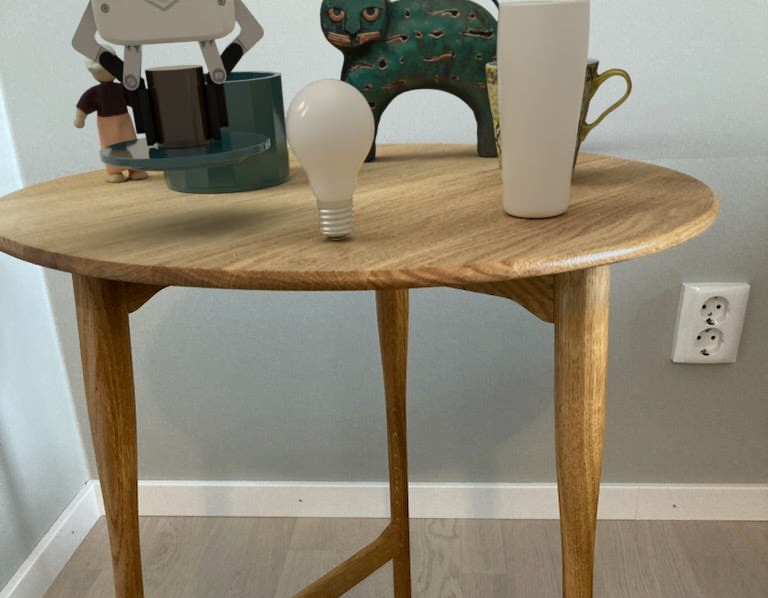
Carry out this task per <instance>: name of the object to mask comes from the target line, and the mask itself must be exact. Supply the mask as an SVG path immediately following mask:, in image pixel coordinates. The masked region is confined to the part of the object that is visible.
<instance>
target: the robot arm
mask: <svg viewBox="0 0 768 598" xmlns="http://www.w3.org/2000/svg"><path fill="white" fill-rule="evenodd" d="M236 23H237V24H238V26H239V29H240V31H239V33H238V35H237V36H235V38H234V39H233V40H231V41H230V42H229V43H228V44H227V45H226V47H225V48H224V49H223V51H222V53H220V51H219V49H218V48H219V47H218V46H217V43H216V40H219V39H223V38H226V37H227V36H228V35H230V34H231V33H232V32H233V31H234V29H235V27H236ZM97 33H98V35H99V36H100V38H101V39H102V40H104V41H105V42H107V43H109V44H112V45H115V46H123V47H124V48H123V59H121V58H120V57H119V56H118V54H117V55H115V54H114V53H113V52H112V51H109V50H108V49H106V48H105V47H103V46H102V45H100V44H99V43H100V42H98V41H97V39H96V38H97V37H96V34H97ZM264 35H265V30H264V28H263V27H262V25H261V24H260V22H258V20H257V19H256V17H255V16H254V15H253V14H252V12H251V11H250V9H249V8H248V7H247V6H246V4H244V2H243V1H242V0H89V1H88V3H87V6H86V8H85V10H84V12H83V13H82V17H81V19H80V21H79V23H78V25H77V28H76V30H75V33H74V34H73V37H72V39H71V46H72V48H73V50H74V51H76V52H78V53H79V54H81V55H83V56H84V57H85V58H86V57H87V58H89V59H91V60H92V61H94V62H96V63H97V64H99V65H101V66H102V67H103V68H104V69H105V70H106V71H108V72H109V73H110V74H111V75H112V76H114V77H115V80H117V82H118V83H122V84H123V85H124V86H125V87H126V88H127V89H128V90H129V93H130V99H131V105H132V108H131V109H132V110H131V111H132V116H133V122H134V129H135V132H136V135H143V134H144V135H145V138H146V141H147V146H154V144H156V143H157V141H156V135H155V129H154V123H153V117H152V111H151V105H150V98H149V92H148V87H147V85H146V79H144V78H143V77H142V63H143V46H144V45H145V46H146V45H147V46H148V45H160V44H161V45H162V44H176V43H179V44H180V43H192V42H193V43H194V42H197V43H198V45H199V49H200V51H201V54H202V57H203V60H204V62H205V65H206V68H207V70H208V72H206V73H207V74H206V78H207V84H205V89H206V96H207V103H208V111H209V118H210V125H211V133H212V139H215V141H217V140H222V138H221V130H220V128H221V127H229V125H228V116H227V108H226V101H225V93H224V85H223V83H224V82H225V80H226V78H227V77H228V75H229V74H230V73H231V72H233V71H234V69H235V67H237V65H238V63H239V62H240V61H241V60H242V58H243V57H244V56H245V55H246V54H247V53H248V52H249V51H250V50H251V49H252V48H254V46H255V45H257V44H258V42H259V41H260V40H262V38H263V37H264Z"/></svg>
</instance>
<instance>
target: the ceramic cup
mask: <svg viewBox="0 0 768 598" xmlns="http://www.w3.org/2000/svg"><path fill="white" fill-rule="evenodd" d="M599 64H600V60H598V59H596V58H590V57H588V58H587V67H586V75H585V83H584V90H583V97H582V104H581V110H580V117H579V124H578V132H577V139H576V146H575V153H574V160H573V168H572V176H571V180H572V179H573V177H574V174H575V169H576V165H577V160H578V155H579V152H580V151H579V150H580V148H581V145H582V143H583V142H585V140H586V138H587V136H588V135H589V133H590V132H591V131H592V130H593V129H594V128H596V127H597V126H599V124H600V123H601V122H602V121H603V120H604V119H605V118H606V117H607V116H608V115H609V114H611V113H612V112H613V111H615V110H617V108H619V107H620V106H621V105H622V104H624V102H626V100H627V99H628V98H629V96H630V94H631V93H632V88H633V82H632V78H631V77H630V75H629V73H628V72H627V71H625V70H624V69H622V68H610V69H607V70H605V71H603V72H601V73H600V74H599V73H598V69H599V66H600V65H599ZM614 76H620V77H621V78H624V80H625V81H626V84H627V85H626V92H625V93H624V95H623V96H622V97H621V98H620V99H618V100H617V101H616V102H615V103H614V104H612V105H610V106H609V107H608V108H607V109H605V110H604V111H603V112H602V113H601V114H600V115H599V116H598V117H597V119H596V120H594V121H593V122H592V123H588V122H587V121H586V120H587V116H588V113H589V109H590V103H591V100H593V97H594V96H595V94H596V92H597V91H598V90H599V88H600V86H601V85H602V84H603V83H604V82H606V81H607V80H608V79H610V78H611V77H614ZM486 77H487V87H488V94H489V101H490V107H491V112H492V116H493V123H494V132H495V139H496V146H497V153H498V156H497V160H498V169H499V176H500V179H501V182H503V176H502V155H501V137H500V119H499V102H498V84H497V61H495V62H490V63H487V64H486Z"/></svg>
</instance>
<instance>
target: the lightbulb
mask: <svg viewBox="0 0 768 598" xmlns="http://www.w3.org/2000/svg"><path fill="white" fill-rule="evenodd" d="M285 128H286V136H287V140H288V147H289V148H290V150H291V152H292V154H293V156H294V158H295V159H296V160H297V162H298V163H299V164H300V166H301V167H302V169H303V171H304V172H305V174H306V175H307V178H308V180H309V186H310V189H311V192H312V193H313V195H314V197H315V199H316V207H317V213H318V215H317V218H318V219H319V220H318V222H317V223H318V224H319V226H318V232H319V233H320V234H321V235H323V236H325V237H326V238H329V240H332V241H339V240H343V239H345V238H346V237H348V236H349V235H350V234H351V233H353V232H354V231H355V227H354V225H355V222H354V220H355V219H354V215H353V214H354V210H353V208H354V195H355V193H356V190H357V183H358V177H359V173H360V170H361V168H362V166H363V164H364V163H365V162H364V160H365V158H366V157H367V155H368V153H369V151H370V148H371V146H372V143H373V138H374V129H375V128H374V118H373V114H372V111H371V108H370V106H369V104H368V102H367V100H366V99H365V97H364V96H363V95H362V94H361V93H360V92H359V91H358V90H357V89H356V88H355V87H353V86H352V85H350V84H348V83H346V82H344V81H341V80H340V79H335V78H323V79H317V80H315V81H312V82H310V83H308V84H306V85H305V86H303V87H302V88H301V89H299V91H298V92H297V93H296V94H295V95H294V97H293V98H292V100H291V102H290V103H289V106H288V108H287V112H286V125H285Z"/></svg>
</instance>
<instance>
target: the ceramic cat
mask: <svg viewBox="0 0 768 598" xmlns="http://www.w3.org/2000/svg"><path fill="white" fill-rule="evenodd" d="M491 2H492V3H493V4H494V5H495V7H496V9H497V11H499V4H500V3H499V1H498V0H491ZM319 22H320V23H319V24H320V30H321V32H322V34H323V36H324V38H325V40H326V41H327V42H328V43H329V44H330V45H331V46H332V47H334V48H335V49H337V50H338V51H340V52H341V54H342V56H343V62H342V67H341V71H340V78H339V80H341V81H344V82H346V83H348V84H350V85H352V86H353V87H355V88H356V89H357V90H358V91H359V92H360V93H361V94H362V95H363V96H364V97H365V99H366V100H367V102H368V104H369V106H370V108H371V111H372V114H373V118H374V128H375V129H374V138H373V143H372V146H371V148H370V151H369V153H368V155H367V157H366V158H365V160H364V162H363V163H369V162H373V161H375V159H376V154H377V145H376V144H377V141H376V140H377V136H378V131H379V125H380V122H381V118H382V116H383V114H384V112H385V111H386V110H387V108H388V106H389V105H390V104H391V103H392V102H393V100H395V99H396V98H397V97H398V96H400V95H402V94H404V93H408V92H411V91H417V90H418V91H419V90H433V91H440V92H443V93H447V94H449V95H452V96H453V97H456V98H458V99H460V100H461V101H462V102H464V103H465V105H467V106H468V107H469V109H470V110H471V111H472V113H473V116H474V119H475V122H476V150H477V154H478V157H483V158H491V157H492V158H493V157H494V158H495V157H497V158H498V153H497V146H496V139H495V132H494V123H493V116H492V112H491V107H490V101H489V94H488V87H487V77H486V64H487V63H490V62H495V61H497V26H498V20H496V18H495V17H494V15H493V14H492V13H490V11H489V10H487V9H486V8H485V7H484V6H483V5H481V4H480V3H478V2H475V1H474V0H394V1H392V0H322V1H321V4H320V9H319Z"/></svg>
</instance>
